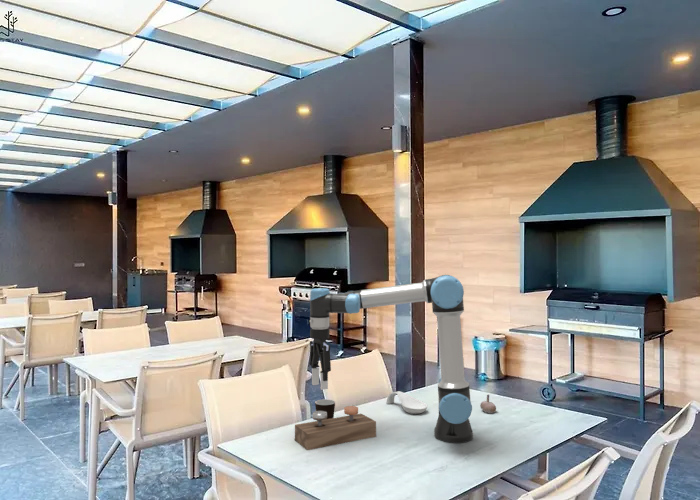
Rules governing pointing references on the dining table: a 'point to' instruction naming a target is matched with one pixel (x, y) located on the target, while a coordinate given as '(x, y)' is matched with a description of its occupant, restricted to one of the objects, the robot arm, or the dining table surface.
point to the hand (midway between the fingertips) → (319, 386)
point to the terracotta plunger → (351, 411)
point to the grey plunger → (319, 416)
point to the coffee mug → (326, 407)
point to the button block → (334, 431)
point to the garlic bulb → (488, 406)
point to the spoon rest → (408, 403)
